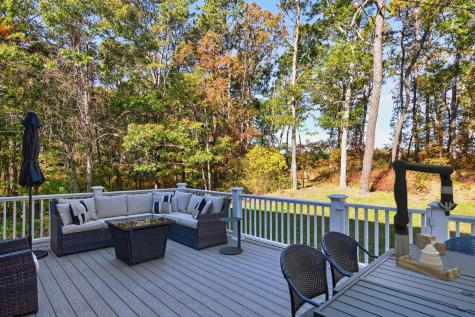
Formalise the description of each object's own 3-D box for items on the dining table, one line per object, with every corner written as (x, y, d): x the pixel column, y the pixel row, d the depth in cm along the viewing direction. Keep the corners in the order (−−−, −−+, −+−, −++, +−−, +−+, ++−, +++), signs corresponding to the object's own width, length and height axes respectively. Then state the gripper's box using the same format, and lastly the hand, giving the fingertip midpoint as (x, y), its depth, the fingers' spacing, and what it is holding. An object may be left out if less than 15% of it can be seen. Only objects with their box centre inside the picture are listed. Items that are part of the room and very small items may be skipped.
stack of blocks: (446, 254, 213) (445, 239, 214) (439, 255, 212) (439, 239, 213) (423, 247, 234) (422, 232, 235) (417, 247, 233) (416, 233, 234)
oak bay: (409, 261, 198) (409, 254, 198) (460, 275, 171) (460, 267, 171) (396, 265, 190) (396, 258, 190) (447, 281, 163) (447, 272, 163)
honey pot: (435, 266, 188) (434, 240, 189) (447, 273, 175) (446, 245, 176) (415, 265, 189) (414, 239, 190) (426, 272, 177) (425, 244, 177)
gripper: (438, 192, 200) (439, 216, 199) (459, 193, 197) (460, 217, 196) (434, 192, 207) (434, 214, 207) (454, 192, 204) (455, 215, 203)
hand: (447, 215), depth 201 cm, fingers closed
